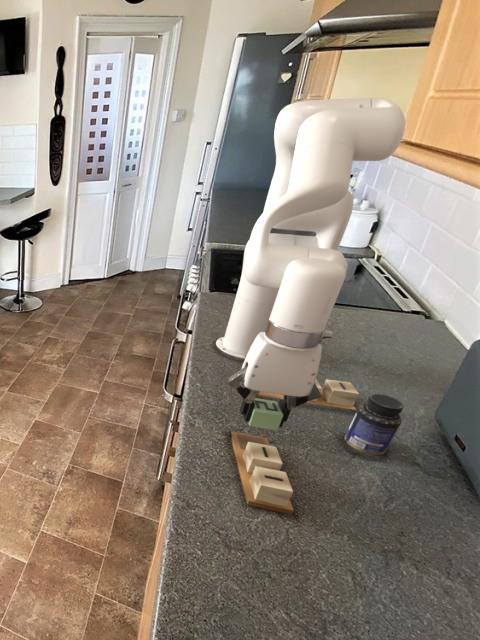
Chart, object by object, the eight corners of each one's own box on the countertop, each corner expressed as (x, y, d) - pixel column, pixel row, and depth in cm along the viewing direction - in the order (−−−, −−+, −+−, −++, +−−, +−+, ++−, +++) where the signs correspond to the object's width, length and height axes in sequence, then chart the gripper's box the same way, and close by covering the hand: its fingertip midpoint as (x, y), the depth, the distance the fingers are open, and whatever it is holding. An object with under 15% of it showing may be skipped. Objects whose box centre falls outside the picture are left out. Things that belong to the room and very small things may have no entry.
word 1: (229, 435, 87) (235, 417, 85) (266, 441, 85) (273, 423, 83) (247, 504, 72) (255, 485, 70) (292, 514, 70) (301, 494, 68)
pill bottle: (391, 460, 80) (418, 413, 75) (353, 456, 81) (377, 409, 76) (371, 438, 85) (395, 392, 80) (335, 435, 86) (357, 389, 81)
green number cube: (249, 426, 80) (254, 410, 78) (244, 411, 83) (249, 396, 82) (277, 430, 78) (283, 415, 76) (271, 416, 82) (277, 400, 80)
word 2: (250, 383, 103) (256, 367, 101) (343, 397, 97) (351, 379, 95) (256, 398, 98) (262, 381, 96) (355, 413, 92) (364, 396, 90)
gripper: (345, 330, 72) (308, 416, 81) (231, 318, 78) (208, 400, 86) (363, 350, 66) (321, 442, 75) (239, 336, 72) (213, 423, 80)
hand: (261, 419), depth 81 cm, fingers closed on green number cube, 4 cm apart
